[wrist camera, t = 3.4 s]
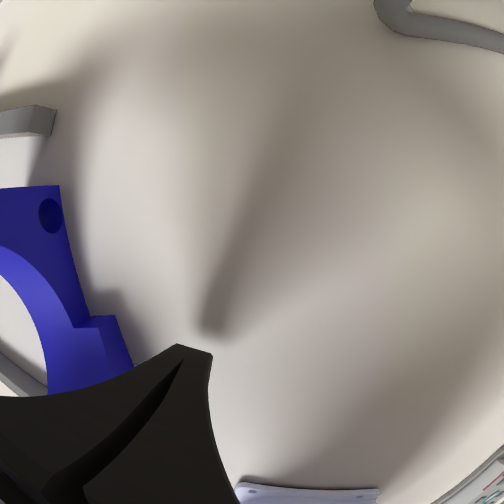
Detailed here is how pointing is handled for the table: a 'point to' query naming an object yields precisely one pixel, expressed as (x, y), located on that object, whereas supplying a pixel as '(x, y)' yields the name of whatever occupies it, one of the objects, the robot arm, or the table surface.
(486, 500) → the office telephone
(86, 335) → the cable clip
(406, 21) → the newton's cradle
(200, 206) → the table surface
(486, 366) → the table surface
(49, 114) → the bulldozer blade
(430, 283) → the table surface
